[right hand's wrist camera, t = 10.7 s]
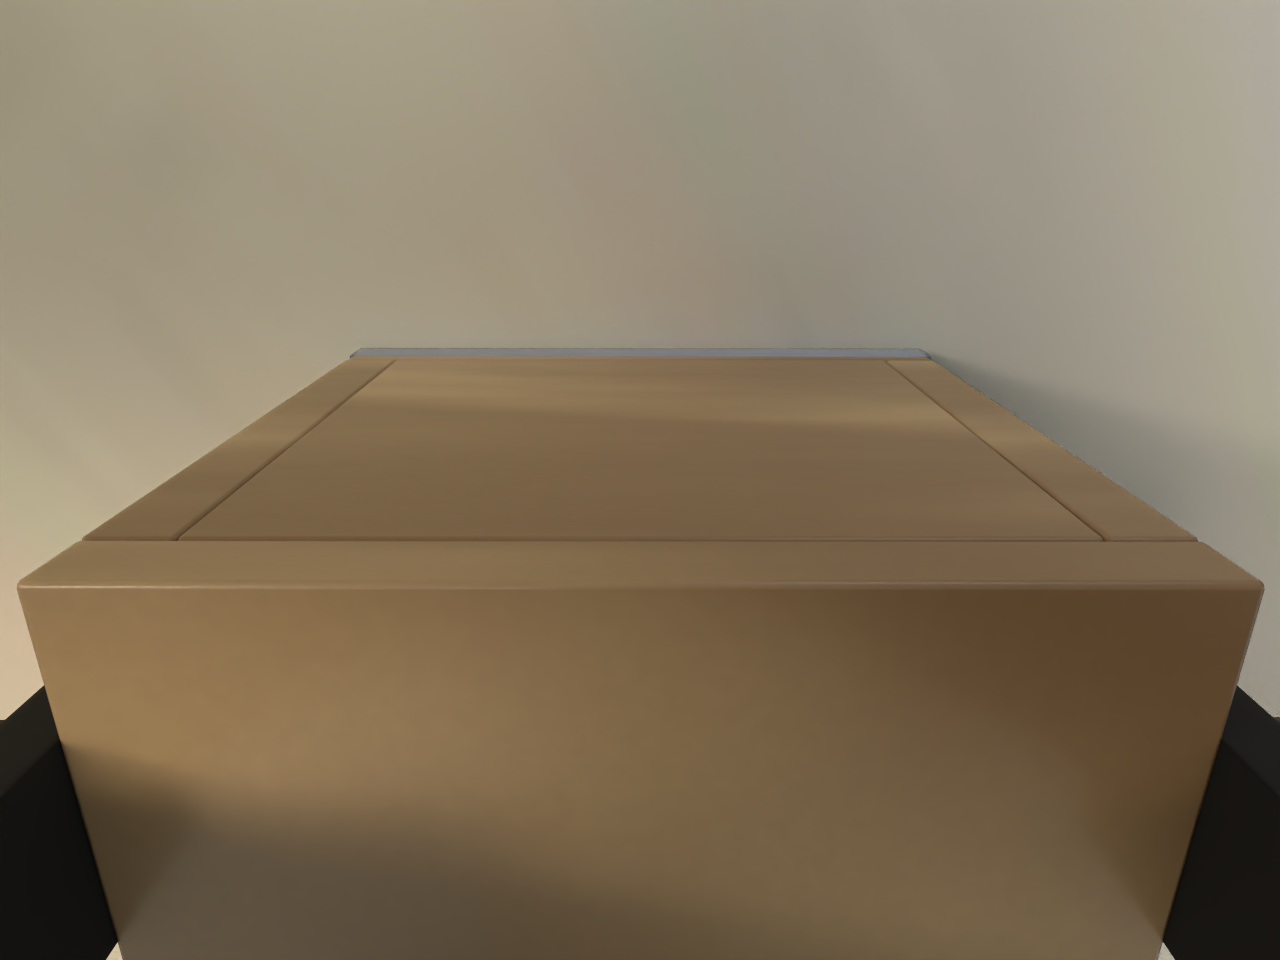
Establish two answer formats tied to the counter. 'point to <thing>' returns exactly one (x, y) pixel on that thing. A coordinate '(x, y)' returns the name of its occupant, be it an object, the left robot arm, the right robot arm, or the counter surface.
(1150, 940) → the cabinet
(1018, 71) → the counter surface
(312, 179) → the counter surface
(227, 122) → the counter surface
